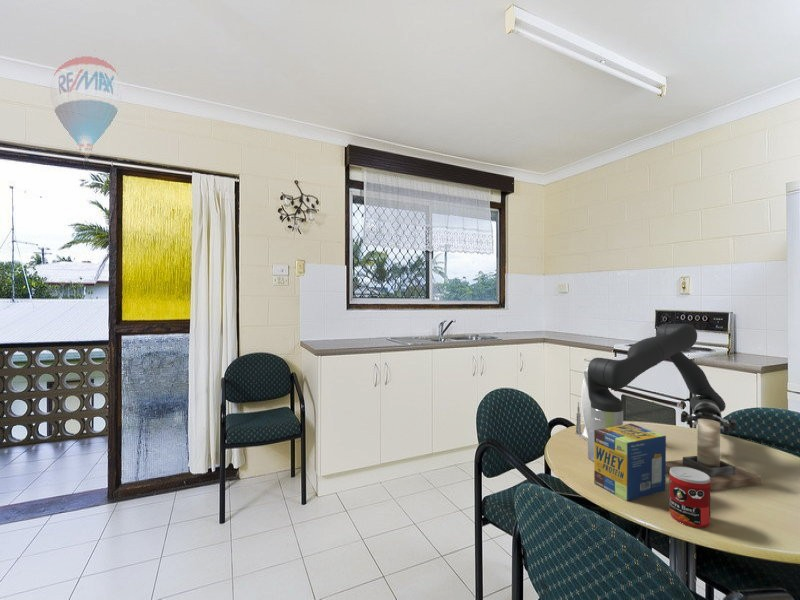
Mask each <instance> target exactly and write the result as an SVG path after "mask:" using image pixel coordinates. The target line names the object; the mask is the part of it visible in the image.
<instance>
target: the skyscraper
mask: <svg viewBox="0 0 800 600" xmlns="http://www.w3.org/2000/svg"><path fill="white" fill-rule="evenodd" d="M587 373H588V367H587V368H586V369H583V370H582V374H583V381H582V385H581V391H580V394H581V395H580V402H579V401H578V402H577V413H576V426H575V429H576V431H575V435H577V436H578V435H579V436H578V437H580V438H581V437H582V439H583V440H584V439H585V440H584V441H588V430H589V429H591V402H590V399H589V394H588V376H587ZM580 405H581V410H580ZM580 411H581V412H582V413H581V412H580ZM581 415H582V418H583V425H584V426H583V429H582V424H581V423H582V421H581ZM585 437H586V438H585ZM586 439H587V440H586Z"/></svg>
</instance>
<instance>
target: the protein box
mask: <svg viewBox="0 0 800 600" xmlns="http://www.w3.org/2000/svg"><path fill="white" fill-rule="evenodd" d="M666 443H667V436H666V435H665V434H662V433H659V432H656V431H654V430H650V429H648V428H645V427H642V426H639V425H636V424H633V423H628V424H623V425H621V426H615V427H609V428H604V429H598V430H594V461H593V464H594V467H593V468H594V470H593V471H594V473H593V474H594V475H593V476H594V477H593V478H594V481H593V482H594V484H595V485H597V486H599V487H600V488H603V490H606V491H608V492H609V493H611V494H613V495H615V496H616V497H618V498H620V499H622V500H624V501H625V502H629V501H632V499H633V500H636V499H639V498H643V497H644V498H645V497H647V495H648V496H650V495H654V494H659V493H663V492H665V491H666V490H667V489H666V487H667V486H666V483H667V482H666V478H667V477H666V475H667V472H666V460H667V456H666V455H667V454H666V453H667V451H666V449H667V448H666V447H667V446H666V445H667V444H666Z"/></svg>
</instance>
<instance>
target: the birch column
mask: <svg viewBox="0 0 800 600" xmlns="http://www.w3.org/2000/svg"><path fill="white" fill-rule="evenodd" d="M696 436H697V437H696V438H697V441H696V442H697V443H696V445H697V446H696V448H697V449H696V456H697V462H698V463H700V464H702V465H704V466H707V467H709V468H716V467H720V460H721V429H720V423H719V422H717V421H714V420H710V419H698V425H697V435H696Z"/></svg>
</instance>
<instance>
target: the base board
mask: <svg viewBox="0 0 800 600" xmlns="http://www.w3.org/2000/svg"><path fill="white" fill-rule="evenodd" d="M672 467H687V468H692V469H696V470H699V471H701V472H704V473H705V474H707V475H708V476H709V477H710V481H711V483H710V484H711V491H717V490H724V489H732V488H733V489H734V488H742V487H746V486H748V487H750V486H757V485H762V482H763V481H762V480H763V478H762V477H763V476H760V475H758V474H755V473H753V472H750V471H747V469H746V470H745V469H743V468H740V467H738V466H736V465H733V464H731V463H729V462H726V461H723V460H722V459H720V467H716V468H709V467H707V466H704V465H702V464H700V463H698V462H697V455H692V456H691V455H690V456H683V457H682V459H678V460H668V461H666V474H669V471H670V468H672Z"/></svg>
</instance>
